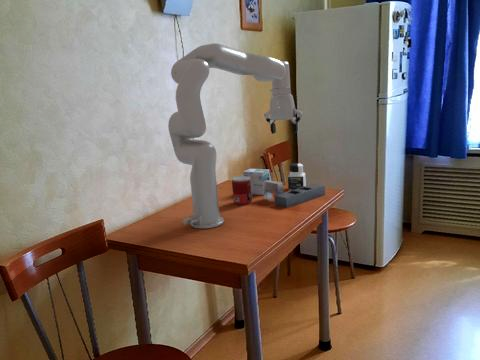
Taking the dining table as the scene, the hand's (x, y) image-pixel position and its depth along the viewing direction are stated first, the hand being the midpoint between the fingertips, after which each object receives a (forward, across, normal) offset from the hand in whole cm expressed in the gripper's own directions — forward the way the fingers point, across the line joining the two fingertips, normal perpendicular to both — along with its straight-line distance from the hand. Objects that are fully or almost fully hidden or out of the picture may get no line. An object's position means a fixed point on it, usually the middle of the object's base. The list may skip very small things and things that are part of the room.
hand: (284, 133), depth 186 cm
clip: (+28, -4, -6) cm, 29 cm away
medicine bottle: (+29, -1, +13) cm, 32 cm away
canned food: (+28, -16, -13) cm, 35 cm away
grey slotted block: (+28, +7, -3) cm, 29 cm away
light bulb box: (+28, -16, +3) cm, 33 cm away
